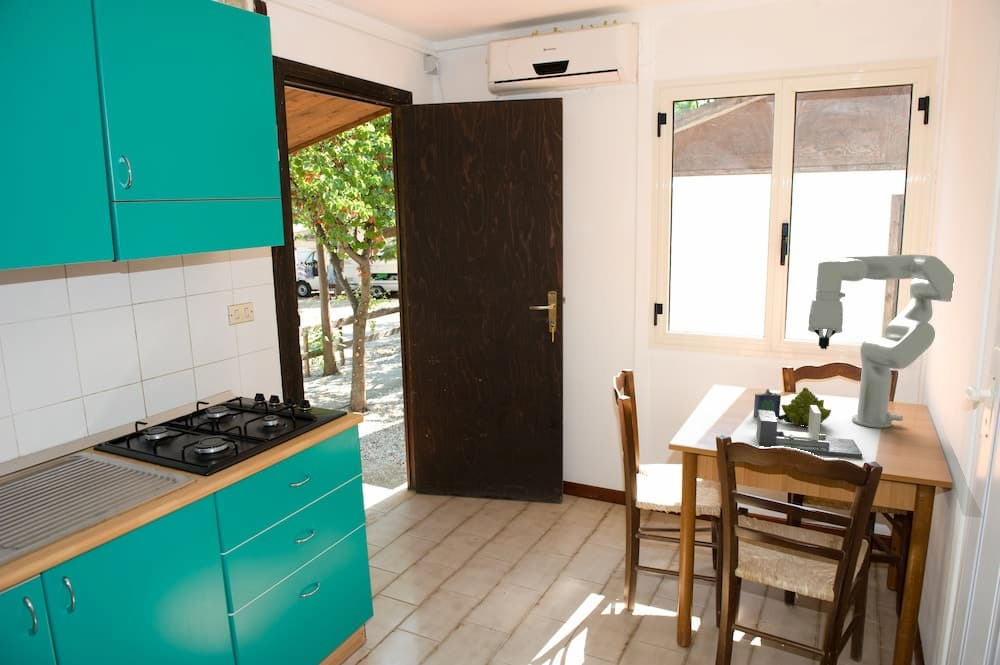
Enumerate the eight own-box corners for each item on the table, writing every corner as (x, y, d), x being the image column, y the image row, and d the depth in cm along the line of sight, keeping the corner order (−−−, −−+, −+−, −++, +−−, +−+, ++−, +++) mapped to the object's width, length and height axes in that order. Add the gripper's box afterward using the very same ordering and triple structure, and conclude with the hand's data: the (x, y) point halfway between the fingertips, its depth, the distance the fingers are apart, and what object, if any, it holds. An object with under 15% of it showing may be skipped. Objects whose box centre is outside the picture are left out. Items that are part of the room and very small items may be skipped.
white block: (813, 438, 220) (816, 405, 218) (818, 448, 210) (821, 414, 208) (781, 435, 223) (784, 403, 221) (785, 445, 213) (787, 412, 211)
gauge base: (852, 443, 219) (855, 416, 217) (862, 459, 206) (864, 430, 204) (756, 435, 228) (758, 409, 226) (759, 449, 214) (761, 421, 213)
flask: (754, 417, 247) (756, 390, 245) (752, 415, 250) (754, 387, 248) (780, 418, 246) (782, 390, 244) (777, 416, 249) (779, 388, 247)
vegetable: (766, 411, 242) (792, 378, 239) (792, 428, 248) (817, 396, 246) (794, 431, 228) (821, 396, 226) (820, 448, 235) (847, 414, 233)
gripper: (849, 295, 227) (845, 347, 231) (802, 294, 232) (798, 345, 235) (854, 298, 220) (849, 351, 224) (805, 296, 225) (801, 349, 228)
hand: (823, 348), depth 229 cm, fingers closed
